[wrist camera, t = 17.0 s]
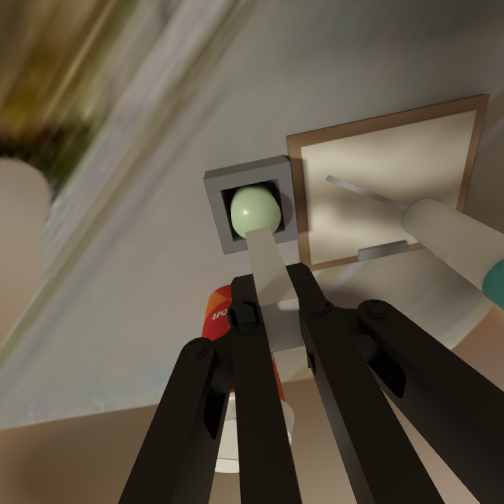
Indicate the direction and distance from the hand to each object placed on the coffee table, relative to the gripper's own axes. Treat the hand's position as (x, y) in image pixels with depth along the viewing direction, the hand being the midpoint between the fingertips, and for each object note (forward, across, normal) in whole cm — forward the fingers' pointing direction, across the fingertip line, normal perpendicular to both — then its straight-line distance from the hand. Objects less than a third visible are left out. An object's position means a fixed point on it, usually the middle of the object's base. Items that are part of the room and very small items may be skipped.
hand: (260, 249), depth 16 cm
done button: (+9, 0, 0) cm, 9 cm away
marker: (+9, +17, -6) cm, 20 cm away
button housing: (+10, 0, 0) cm, 10 cm away
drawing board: (+10, +13, -2) cm, 17 cm away
